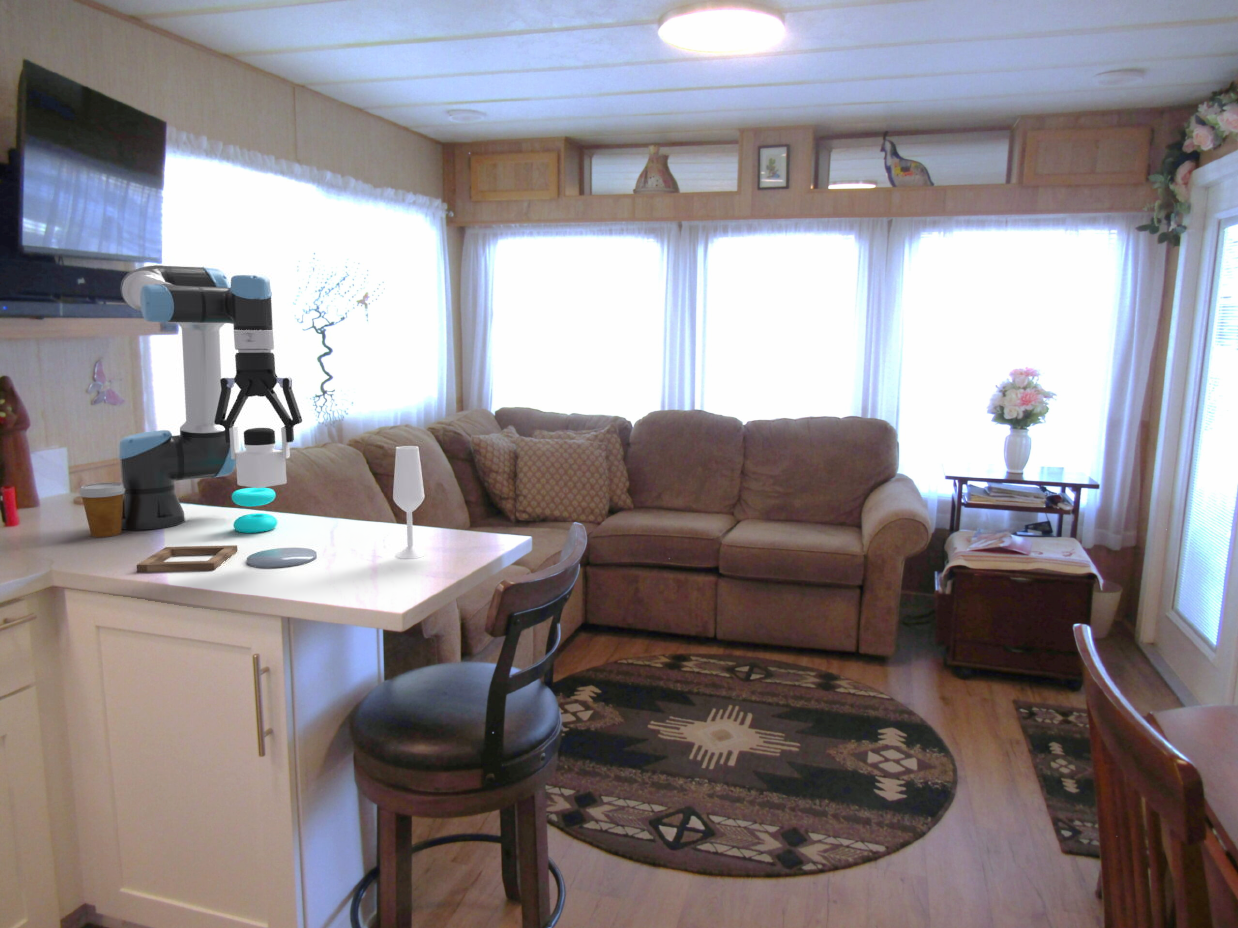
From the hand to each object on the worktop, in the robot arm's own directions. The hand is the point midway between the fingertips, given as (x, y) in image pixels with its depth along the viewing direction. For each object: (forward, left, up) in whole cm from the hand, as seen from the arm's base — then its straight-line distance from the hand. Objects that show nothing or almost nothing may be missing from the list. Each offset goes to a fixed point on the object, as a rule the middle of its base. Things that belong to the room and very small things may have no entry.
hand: (261, 458), depth 178 cm
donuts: (-30, -11, -22) cm, 39 cm away
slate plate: (0, +3, -22) cm, 22 cm away
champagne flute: (-1, +30, -22) cm, 38 cm away
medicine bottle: (0, 0, -6) cm, 6 cm away
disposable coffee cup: (-28, -45, -22) cm, 58 cm away
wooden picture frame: (0, -16, -22) cm, 27 cm away
